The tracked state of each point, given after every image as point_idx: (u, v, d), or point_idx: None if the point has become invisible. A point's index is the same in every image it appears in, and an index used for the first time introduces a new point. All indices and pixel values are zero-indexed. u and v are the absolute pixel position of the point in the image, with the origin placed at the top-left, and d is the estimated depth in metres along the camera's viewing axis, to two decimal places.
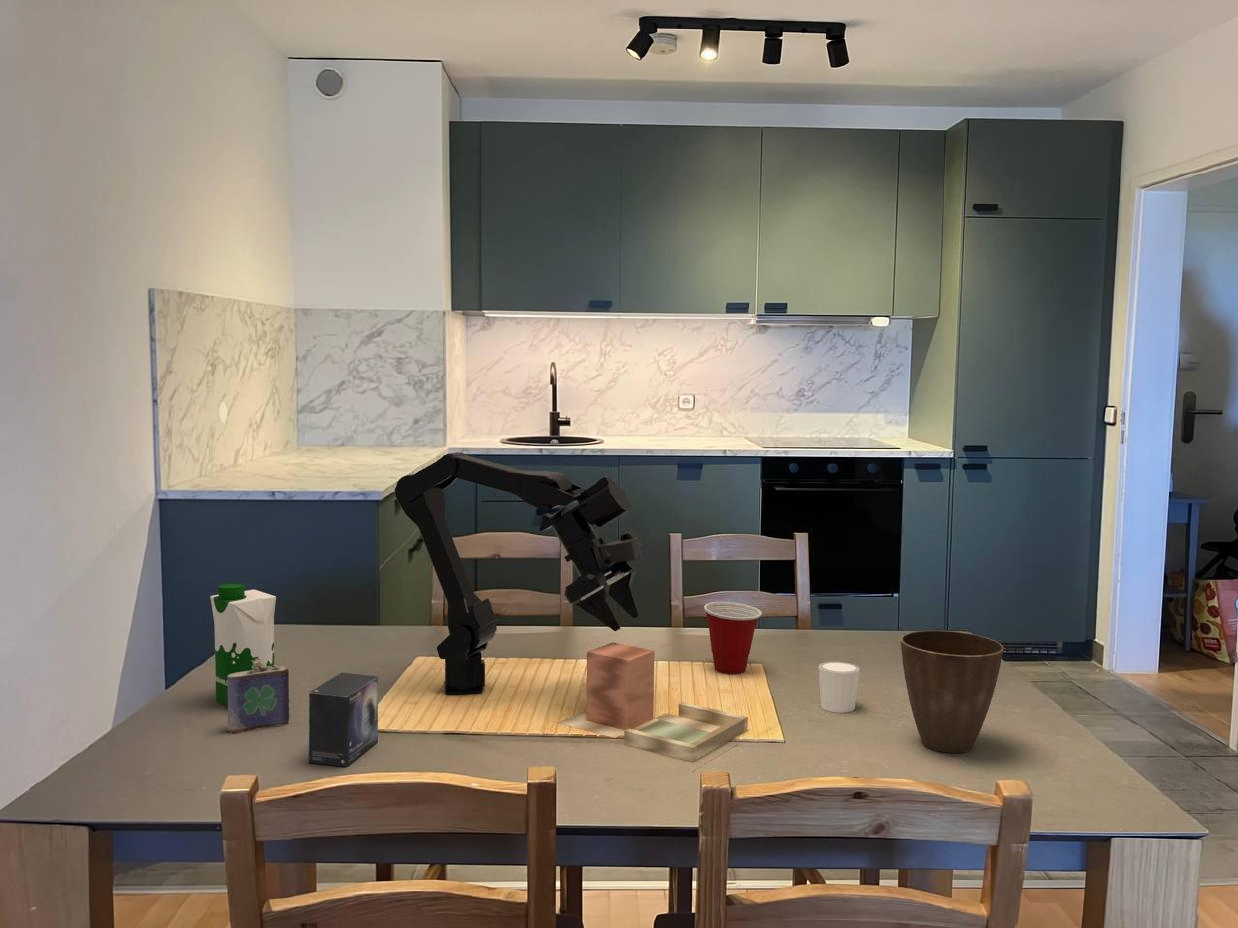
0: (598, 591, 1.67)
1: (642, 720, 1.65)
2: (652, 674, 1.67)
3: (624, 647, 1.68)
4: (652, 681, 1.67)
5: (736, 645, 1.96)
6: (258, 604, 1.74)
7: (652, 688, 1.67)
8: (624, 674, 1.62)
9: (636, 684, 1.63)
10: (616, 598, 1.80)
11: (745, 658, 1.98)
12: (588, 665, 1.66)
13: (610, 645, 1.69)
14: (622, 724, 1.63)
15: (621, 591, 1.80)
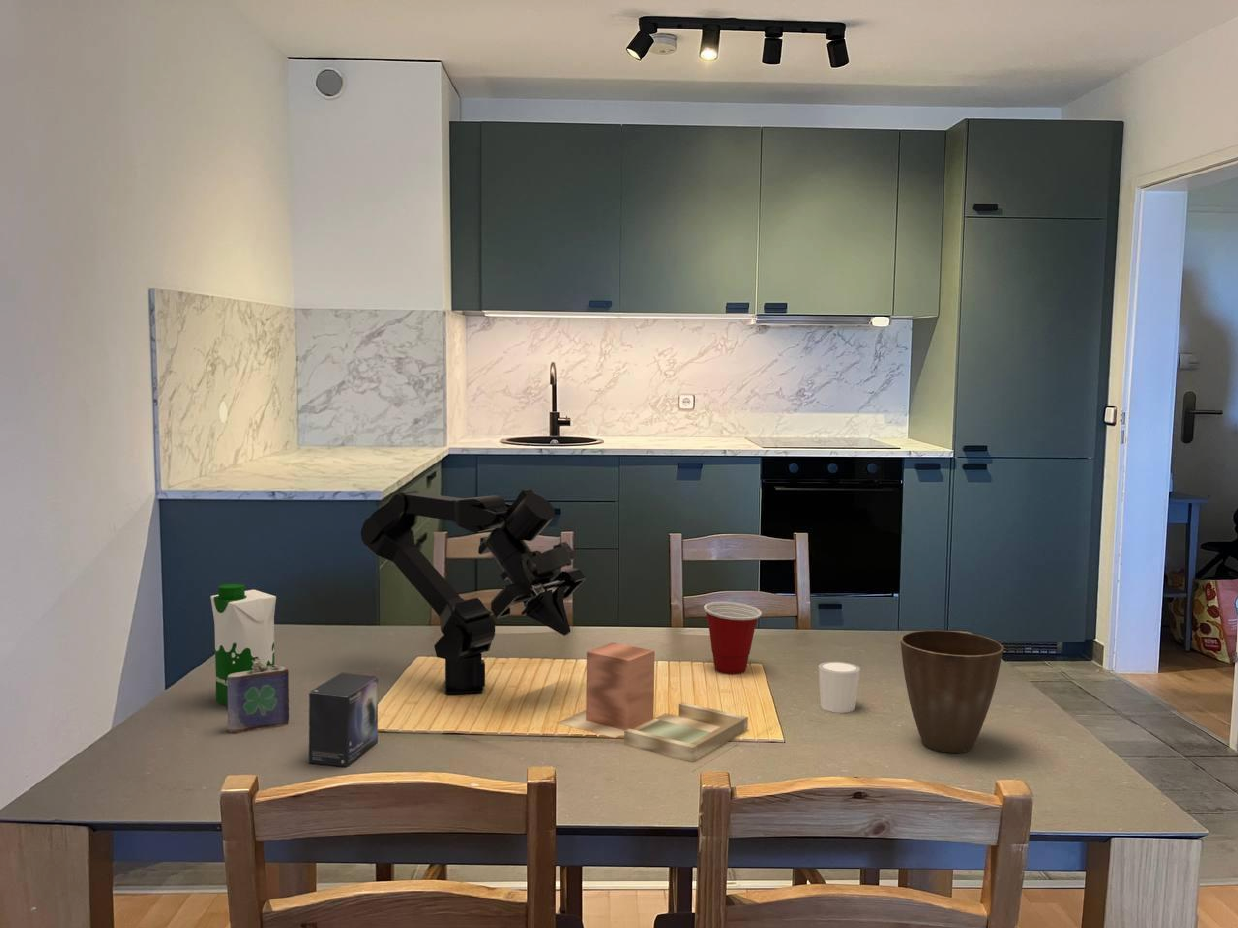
0: (537, 596, 1.70)
1: (642, 720, 1.65)
2: (652, 674, 1.67)
3: (624, 647, 1.68)
4: (652, 681, 1.67)
5: (736, 645, 1.96)
6: (258, 604, 1.74)
7: (652, 688, 1.67)
8: (624, 674, 1.62)
9: (636, 684, 1.63)
10: None
11: (745, 658, 1.98)
12: (588, 665, 1.66)
13: (610, 645, 1.69)
14: (622, 724, 1.63)
15: None
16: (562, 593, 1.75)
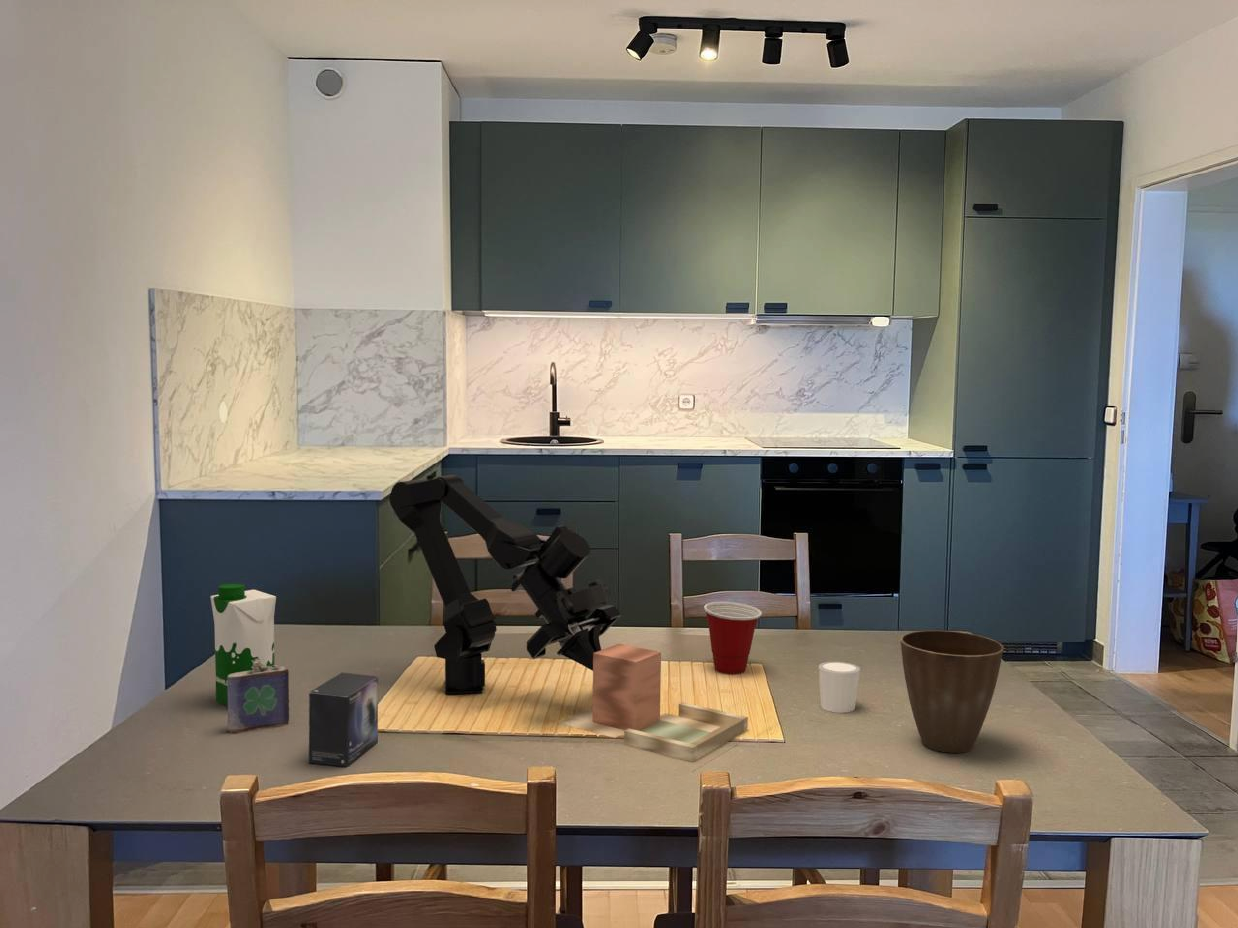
0: (573, 636, 1.67)
1: (649, 721, 1.65)
2: (659, 675, 1.66)
3: (630, 649, 1.67)
4: (659, 682, 1.66)
5: (736, 645, 1.96)
6: (258, 603, 1.74)
7: (659, 689, 1.66)
8: (631, 675, 1.61)
9: (643, 686, 1.62)
10: None
11: (745, 658, 1.98)
12: (594, 666, 1.65)
13: (616, 646, 1.69)
14: (629, 726, 1.62)
15: None
16: (598, 631, 1.71)
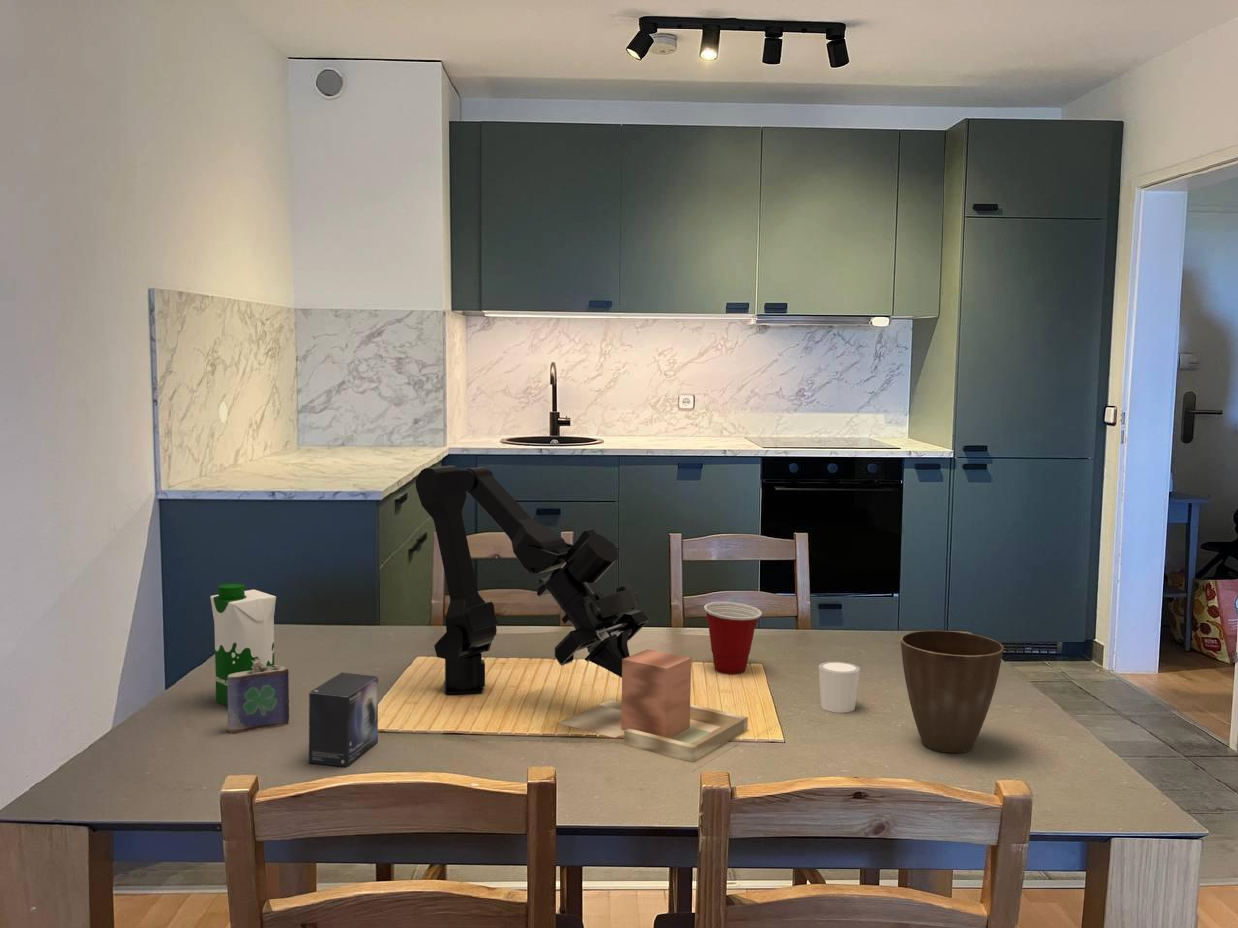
0: (601, 642, 1.64)
1: (679, 729, 1.61)
2: (689, 682, 1.63)
3: (660, 655, 1.64)
4: (689, 689, 1.63)
5: (736, 645, 1.96)
6: (258, 603, 1.74)
7: (689, 696, 1.63)
8: (661, 682, 1.58)
9: (673, 693, 1.59)
10: None
11: (745, 658, 1.98)
12: (623, 673, 1.62)
13: (645, 652, 1.66)
14: (659, 734, 1.59)
15: None
16: (626, 637, 1.68)
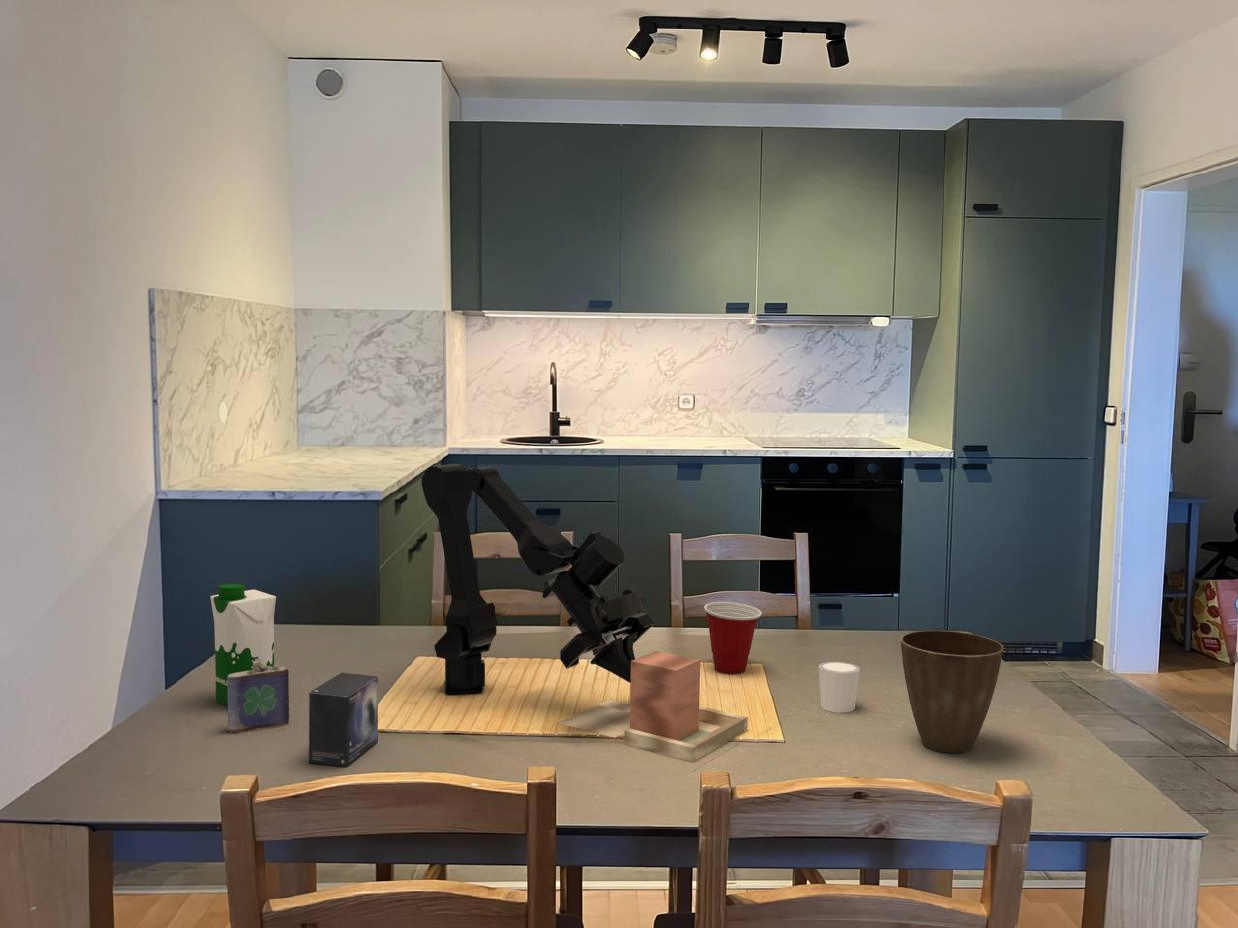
0: (607, 645, 1.63)
1: (688, 731, 1.61)
2: (698, 684, 1.62)
3: (668, 656, 1.63)
4: (698, 691, 1.62)
5: (736, 645, 1.96)
6: (258, 603, 1.74)
7: (698, 698, 1.62)
8: (670, 684, 1.57)
9: (682, 695, 1.58)
10: None
11: (745, 658, 1.98)
12: (632, 675, 1.61)
13: (654, 654, 1.65)
14: (668, 736, 1.58)
15: None
16: (632, 640, 1.67)
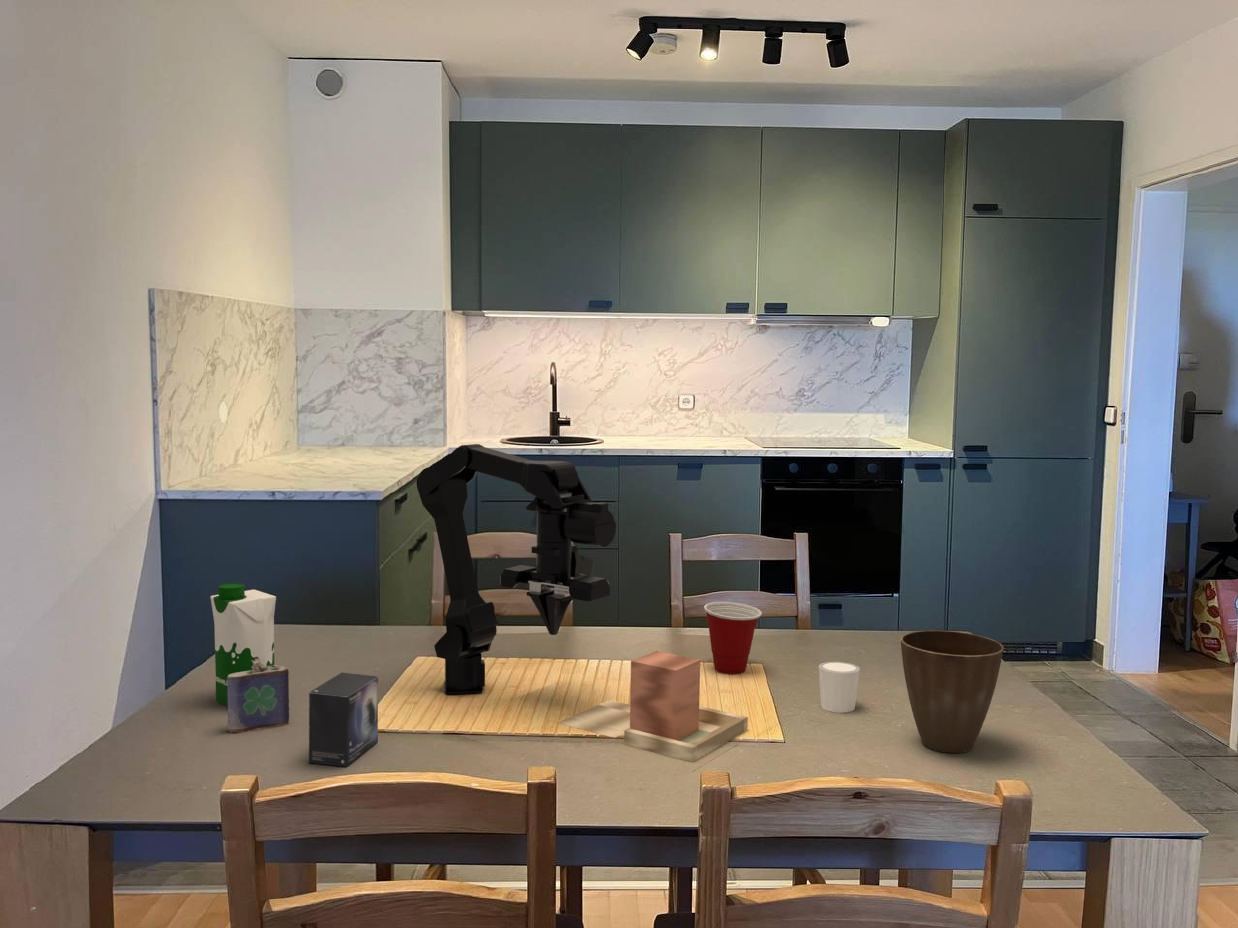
0: None
1: (688, 731, 1.61)
2: (698, 684, 1.62)
3: (668, 656, 1.63)
4: (698, 691, 1.62)
5: (736, 645, 1.96)
6: (258, 604, 1.74)
7: (698, 698, 1.62)
8: (670, 684, 1.57)
9: (682, 695, 1.58)
10: (545, 609, 1.72)
11: (745, 658, 1.98)
12: (632, 675, 1.61)
13: (654, 654, 1.65)
14: (668, 736, 1.58)
15: None
16: None
